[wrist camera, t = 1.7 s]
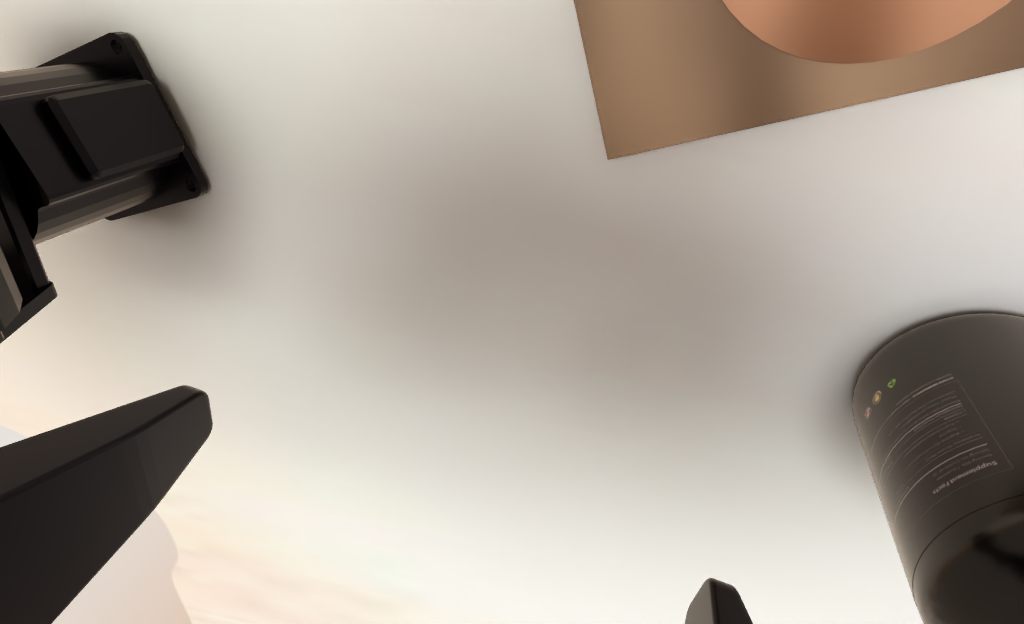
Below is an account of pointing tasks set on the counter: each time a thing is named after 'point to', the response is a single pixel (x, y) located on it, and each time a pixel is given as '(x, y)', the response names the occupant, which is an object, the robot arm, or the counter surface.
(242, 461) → the counter surface
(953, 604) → the supplement bottle
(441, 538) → the counter surface
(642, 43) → the card
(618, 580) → the counter surface
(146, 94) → the robot arm
